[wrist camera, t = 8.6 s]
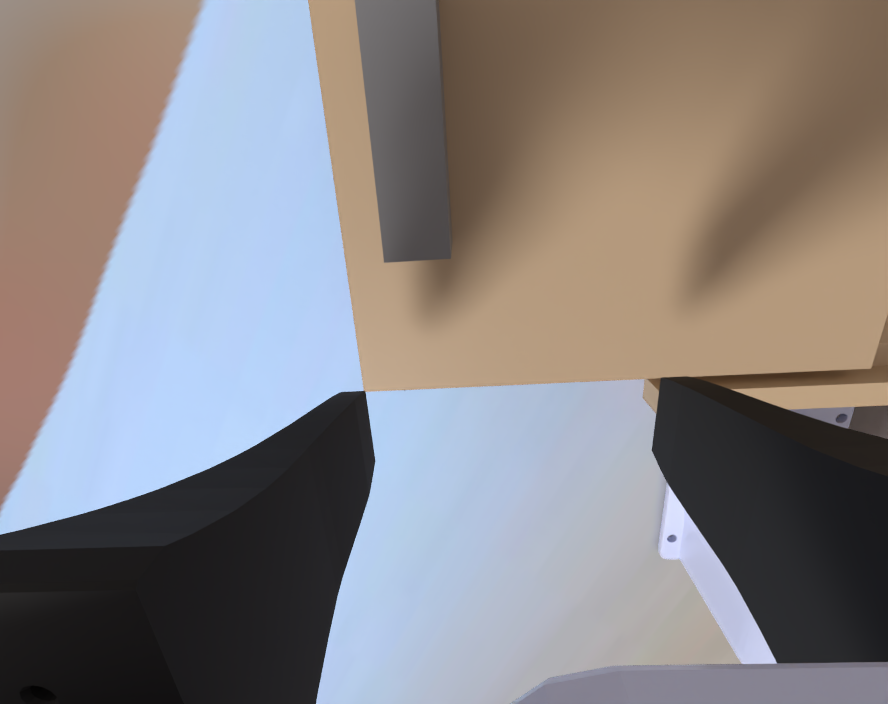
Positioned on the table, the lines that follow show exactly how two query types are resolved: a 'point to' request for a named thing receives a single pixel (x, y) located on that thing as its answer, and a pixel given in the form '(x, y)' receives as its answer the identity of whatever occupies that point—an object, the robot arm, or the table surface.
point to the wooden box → (806, 385)
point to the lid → (608, 186)
